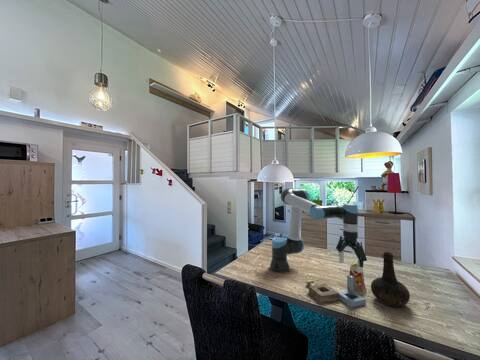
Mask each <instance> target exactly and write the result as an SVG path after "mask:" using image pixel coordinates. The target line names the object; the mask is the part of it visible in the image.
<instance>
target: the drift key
mask: <svg viewBox="0 0 480 360" xmlns="http://www.w3.org/2000/svg"><path fill="white" fill-rule="evenodd" d="M312 285H316V284H315V282H314V280H313V279H308V280H306V286H307V287H309V286H312Z"/></svg>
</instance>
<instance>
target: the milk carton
mask: <svg viewBox="0 0 480 360" xmlns="http://www.w3.org/2000/svg"><path fill="white" fill-rule="evenodd" d="M358 260H359V259H358V258H357V256H356V259H353V260H351V263H350V268H349V274H348V275H352V276H354V277H355V293H357V294H358V295H365V293H366V290H367V288H366V284H365V275H364V271H363V272H360V273H358V272H357V262H358Z"/></svg>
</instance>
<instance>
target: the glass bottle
mask: <svg viewBox="0 0 480 360" xmlns="http://www.w3.org/2000/svg"><path fill="white" fill-rule="evenodd" d="M381 257H382V258H383V265H382V266H383V268H382V276H381V277H377V278H375V279H373V280H372V281H371V282H370V289H371V293H372V295H373V296H374V298H376V299H377V300H378V301H379V302H380V303H382V304H384V305H386V306H389V307H393V308H399V307H401V308H402V307H404V306H406V305H407V304H408V303H409V301H410V298H411V297H410V296H411V295H410V291H409V289H408V287H406V285H405V284H403V283H402V282H401V281H398V278H397V276H396V273H395V272H396V271H395V266H394V254H393V253H391V252H388V251H385V252H384V251H383V254H382V255H381Z"/></svg>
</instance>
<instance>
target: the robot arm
mask: <svg viewBox="0 0 480 360" xmlns="http://www.w3.org/2000/svg"><path fill="white" fill-rule="evenodd" d="M309 198H310V197H309V192H308V191H307V190H306V189H305V188H298V187H297V188H285V189H283V190H282V191H281V194H280V200H281V202H283V204H286V205H288V206H291V212H290V220H289V221H290V222H289V230H288V231H289V233H288V235H287V236H286V238H285V237H278V238H277V237H276V238H274V239H272V242H271V255H272V256H271V261H270V265H269V269H270V270H271V271H273V272H276V273H287V272H289V270H290V266H289V265H290V264H289V262H288V255H294V254H299V253H302V252H303V251H304V249H305V243H304V240H303V238H302V237H301V228H302V219H303V217H302V216H303V212H305V213H307V214H308V215H310V217H311V218H312V219H314V220H325V219H326V220H327V219H342V221H343V222H342V229H343V231H342V235H340V236H339V240H338V241H337V244H336V248H335V250H336V251H337V252H338V263H339V264H342V263H344V261H345V259H344V258H345V256H344V254H345V252H344V250H345V249H346V247H349V248H351V249H352V250H353V252H354V254H355V255H356V257H357V260H358V262H357V272H358V273H360V272H363V273H364V270H363V267H364V262H367V261H368V258H367V256H366V253H365V250H364V248H363V247H364V246H363V243H362V241H358V240H357V239H358V236H359V232H358V230H359V222H358V220H359V207H358V205H357V204H355V203H344V204H343V206H342V205H336V204H329V205H320V204H316V203H314V202H312V201H310V200H309Z"/></svg>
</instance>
